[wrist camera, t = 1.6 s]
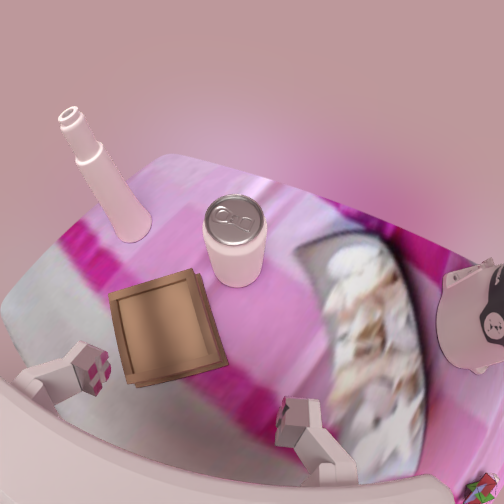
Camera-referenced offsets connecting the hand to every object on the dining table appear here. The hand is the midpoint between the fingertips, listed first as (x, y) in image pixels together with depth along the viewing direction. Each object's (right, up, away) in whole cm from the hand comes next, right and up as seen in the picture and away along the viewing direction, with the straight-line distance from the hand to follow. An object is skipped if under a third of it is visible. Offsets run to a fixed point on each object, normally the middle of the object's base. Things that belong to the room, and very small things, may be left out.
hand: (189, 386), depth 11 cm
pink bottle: (-15, +10, +28) cm, 34 cm away
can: (+1, +4, +26) cm, 27 cm away
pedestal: (-8, -4, +22) cm, 24 cm away
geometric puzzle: (+41, -36, +9) cm, 55 cm away
